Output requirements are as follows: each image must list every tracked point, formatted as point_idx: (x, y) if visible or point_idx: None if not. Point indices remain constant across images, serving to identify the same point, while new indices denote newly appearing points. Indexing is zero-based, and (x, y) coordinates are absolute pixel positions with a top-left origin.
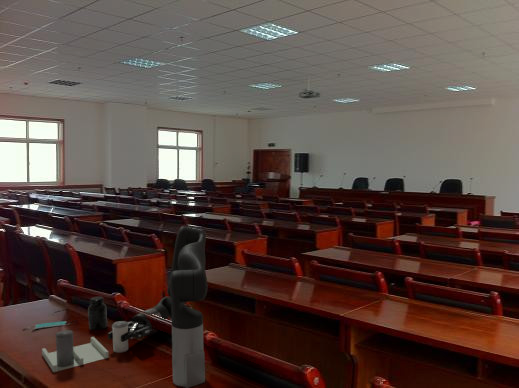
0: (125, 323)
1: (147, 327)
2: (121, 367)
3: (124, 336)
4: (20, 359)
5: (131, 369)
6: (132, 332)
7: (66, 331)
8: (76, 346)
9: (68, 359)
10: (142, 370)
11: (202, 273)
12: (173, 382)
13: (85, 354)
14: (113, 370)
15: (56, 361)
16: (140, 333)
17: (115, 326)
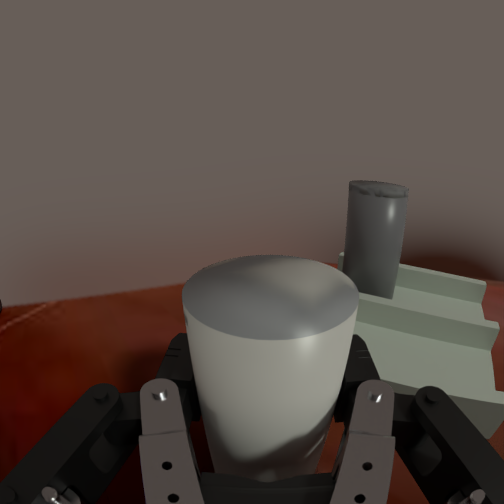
0: (208, 300)
1: (10, 486)
2: (159, 347)
3: (184, 335)
4: (491, 289)
5: (114, 343)
6: (145, 394)
7: (389, 187)
8: (490, 366)
9: (342, 270)
10: (74, 342)
11: None
12: (1, 305)
13: (383, 348)
14: (179, 328)
15: (403, 294)
16: (94, 466)
17: (264, 257)
